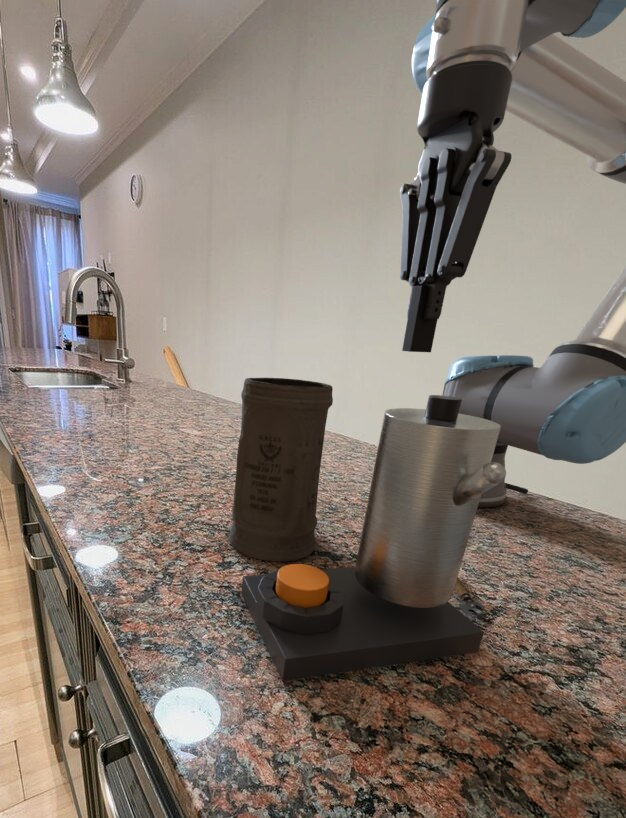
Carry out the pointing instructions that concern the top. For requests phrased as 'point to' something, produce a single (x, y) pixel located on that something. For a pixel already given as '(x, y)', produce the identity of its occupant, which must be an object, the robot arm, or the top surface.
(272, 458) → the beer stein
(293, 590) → the kettle button
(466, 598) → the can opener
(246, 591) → the kettle base
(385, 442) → the kettle
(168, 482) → the top surface
